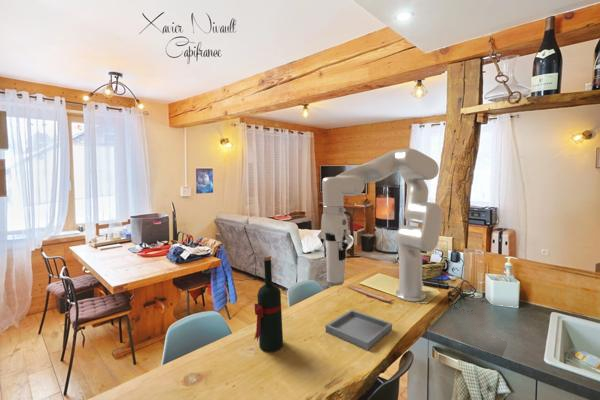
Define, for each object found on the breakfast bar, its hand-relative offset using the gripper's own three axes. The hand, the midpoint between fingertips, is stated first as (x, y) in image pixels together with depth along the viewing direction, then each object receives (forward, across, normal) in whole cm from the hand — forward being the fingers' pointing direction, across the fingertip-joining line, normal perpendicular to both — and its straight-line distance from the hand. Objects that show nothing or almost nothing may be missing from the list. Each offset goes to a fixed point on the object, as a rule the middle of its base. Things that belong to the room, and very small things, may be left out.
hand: (334, 257), depth 112 cm
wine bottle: (+24, +6, +29) cm, 38 cm away
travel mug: (+10, 0, 0) cm, 10 cm away
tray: (+24, -11, +2) cm, 27 cm away
